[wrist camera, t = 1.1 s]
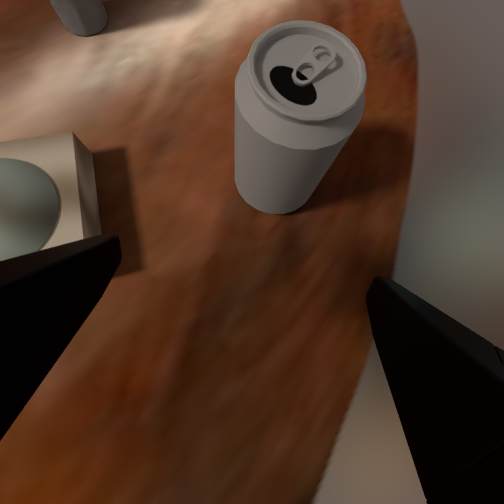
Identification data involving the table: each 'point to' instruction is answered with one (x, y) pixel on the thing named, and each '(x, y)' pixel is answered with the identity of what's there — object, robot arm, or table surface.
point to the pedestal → (46, 194)
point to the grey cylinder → (81, 15)
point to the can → (294, 112)
